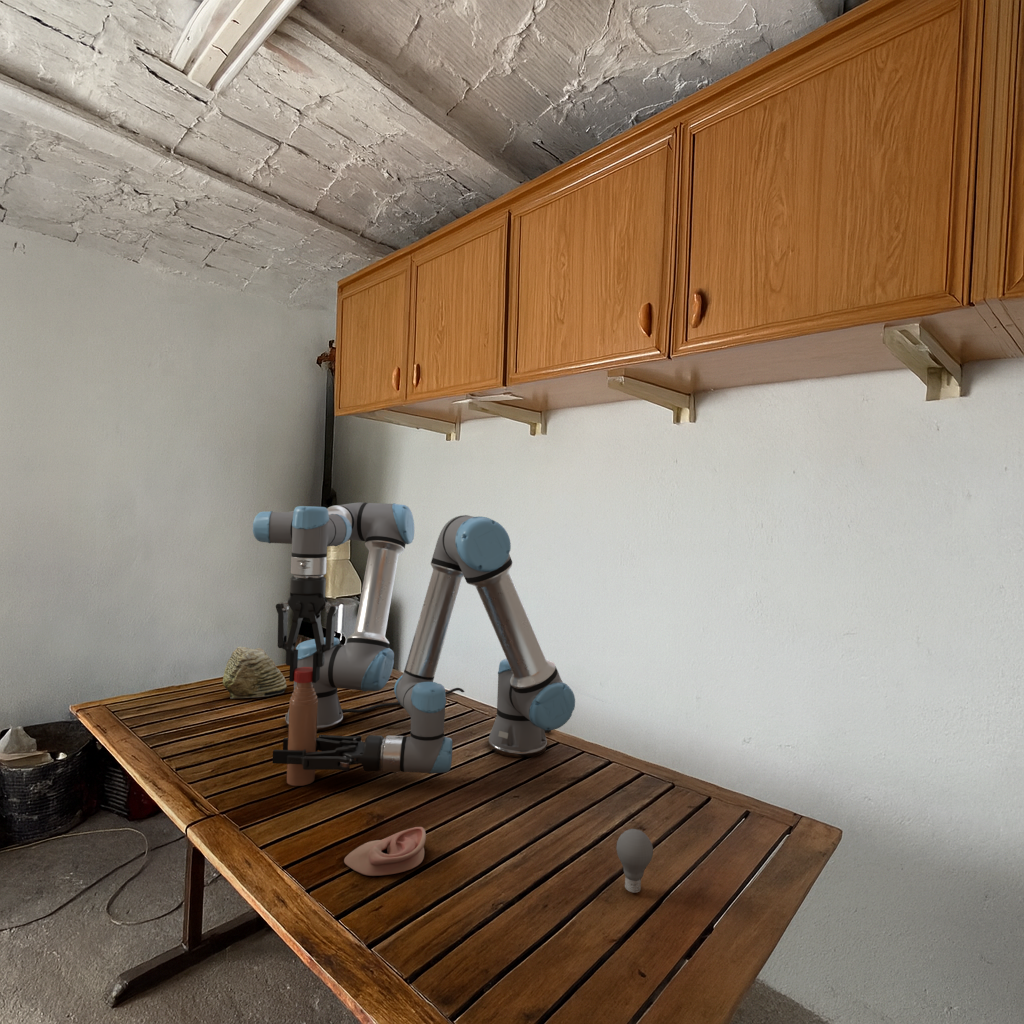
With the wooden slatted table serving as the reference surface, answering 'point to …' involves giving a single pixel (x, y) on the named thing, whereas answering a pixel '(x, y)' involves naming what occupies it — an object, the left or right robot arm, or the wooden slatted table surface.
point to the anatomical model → (389, 853)
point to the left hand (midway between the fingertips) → (304, 680)
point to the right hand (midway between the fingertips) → (278, 750)
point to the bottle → (302, 730)
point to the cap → (303, 674)
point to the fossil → (252, 674)
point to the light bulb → (634, 857)
